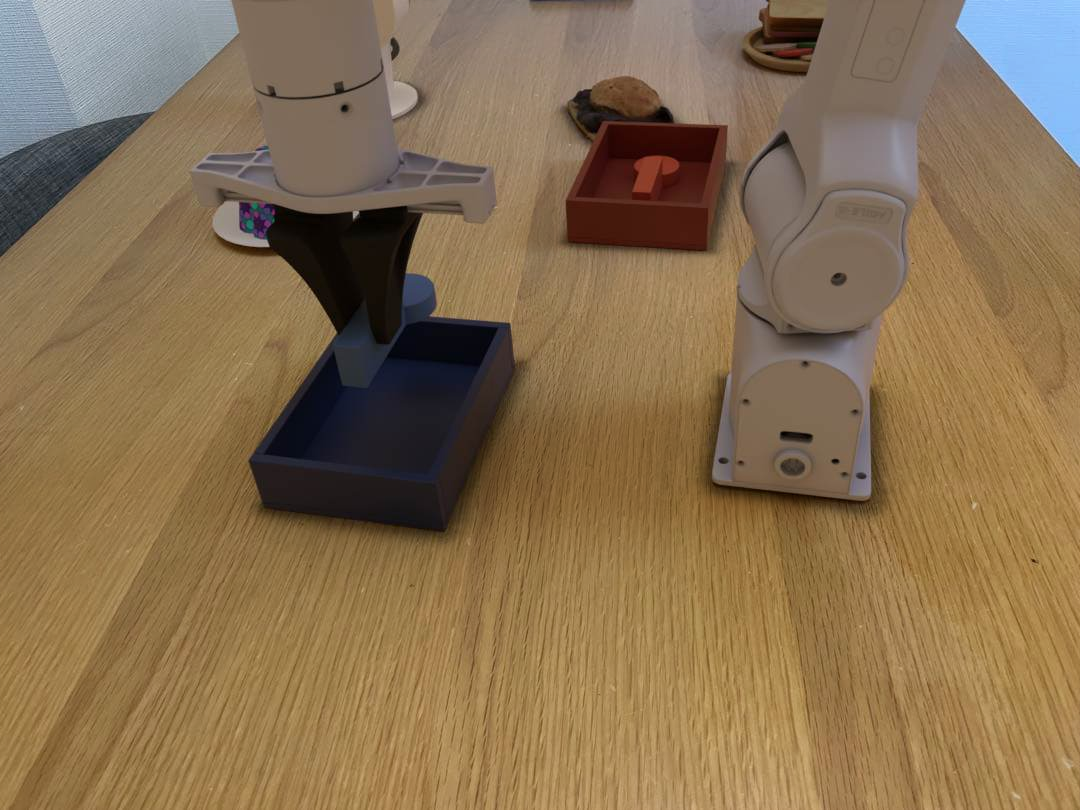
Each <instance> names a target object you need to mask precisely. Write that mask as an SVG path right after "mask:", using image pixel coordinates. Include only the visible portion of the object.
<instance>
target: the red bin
mask: <svg viewBox="0 0 1080 810" xmlns="http://www.w3.org/2000/svg"><path fill="white" fill-rule="evenodd" d="M728 129H729V125H727V124H702V123H701V124H700V123H676V122H674V123H646V122H616V121H603V122H602V124H601V126H600V129H599V131H598V133H597V135H596V137H595V139H594V141H592V143H591V145H590V147H589V150H588V152H587V153H586V156H585V158H584V160H583V163H582V165H581V167H580V169H579V171H578V173H577V175H576V177H575V180H574V181H573V183H572V185H571V188H570V190H569V192H568V194H567V196H566V198H565V217H566V218H565V219H566V234H567V235H566V236H567V242H568V243H582V244H583V243H585V244H597V245H599V244H600V245H615V246H629V247H630V246H631V247H646V248H647V247H648V248H660V249H661V248H664V249H677V250H678V249H681V250H693V251H694V250H696V251H708V245H709V241H710V238H711V237H710V236H711V233H712V228H713V223H714V219H715V215H716V209H717V206H718V200H719V196H720V192H721V187H722V182H723V179H724V174H725V169H726V166H727V147H728V132H729V131H728ZM648 156H667V157H671V158H674V159H675V160H677V161H678V162H679V165H680V168H679V181H678V182H677V183H676V184H675V185H673V186H670V187H667V188H662V190H661V194H660V197H659V200H658V201H643V200H632V190H633V188H634V185H635V181H634V164H635V163H636V162H637V161H638V160H639V159H642V158H644V157H648Z"/></svg>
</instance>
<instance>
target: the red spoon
mask: <svg viewBox="0 0 1080 810" xmlns="http://www.w3.org/2000/svg"><path fill="white" fill-rule="evenodd" d="M679 168H680V165H679V162H678V161H677V160H675V159H674V158H671V157H667V156H648V157H644V158H642V159H639V160H638V161H637V162H636V163H635V164H634V181H635V185H634V188H633V190H632V200H643V201H658V200H659V197H660V194H661V190H662V188H667V187H670V186H673V185H675V184H676V183H677V182H678V181H679Z"/></svg>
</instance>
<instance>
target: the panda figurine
mask: <svg viewBox="0 0 1080 810" xmlns="http://www.w3.org/2000/svg"><path fill="white" fill-rule="evenodd" d="M373 4H374V10H375V16H376V23H377V29H378V35H379V41H380V47H381V53H382V59H383V65H384V71H385V77H386V84H387V90H388V96H389V102H390V108H391V114H392V120H395V119H397V118H399V117H402V116H404V115H405V114H407V113H408V112H410V111H411V110H412V109H414V108H415V107H416V105H417V104H418V101H419V97H418V92H417V90H416V89H415V88H414V87H413V86H411V85H409V84H408V83H405V82H402V81H398V80H394V73H393V62H394V60H395V59H396V58H397V57H398V56H399V54H400V52H401V51H400V49H401V47H400V44H399V42H398V40H397V38H395V36H396V35H397V34H398V33H399V32H400V31H401V29H402V27H403V26H404V25H405V22H406V20H407V19H408V14H409V12H410V6H411V0H373Z"/></svg>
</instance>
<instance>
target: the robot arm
mask: <svg viewBox="0 0 1080 810" xmlns="http://www.w3.org/2000/svg"><path fill="white" fill-rule="evenodd" d="M230 1H231V5H232V8H233V13H234V17H235V21H236V24H237V28H238V34H239V37H240V41H241V44H242V49H243V53H244V57H245V61H246V65H247V69H248V73H249V77H250V81H251V84H252V88H253V92H254V96H255V100H256V104H257V108H258V111H259V116H260V120H261V124H262V128H263V131H264V136H265V140H266V144H267V146H268V148H269V150H261V151H255V150H253V151H243V152H225V153H223V152H222V153H221V152H209V153H208V154H207V155H205V156H204V157H203V158H201V160H199V161H198V162H197V163H196V164H195V165H194V166H192V168H190V169H189V174H190V178H191V181H192V184H193V187H194V190H195V192H196V197H197V201H198V202H199V206H200V207H205V208H219V207H220V206H221V205H223V204H224V203H225V202H226V201H230V202H247V203H264V204H273V207H274V211H275V214H274V215H273V217H274V222H273V223H272V224H271V225H270V226H269V227H268V229H267V230H266V238H267V241H268V244H269V246H270V247H269V248H270V249H271V250H272V252H273V251H274V252H275V253H276V255H278V256H279V257H281V259H283V260H284V261H285V262H286V263H287V264H288V265H289V266H290V267H291V268H292V269H293V270H294V272H295V273H296V274H298V275H299V277H300V278H301V279H302V280H303V282H304V283H305V284H306V285H307V286H308V288H309V289H310V290H311V292H312V294H313V295H314V297H315V298H316V299H317V301H318V302H319V304H320V306H321V307H322V309H323V310H324V312H325V314H326V315H327V317H328V319H329V321H330V323H331V325H332V326H333V328H334V330H335V331H336V334H337V333H338V335H340V334H341V332H342V331H343V330H344V328H345V327H346V325H347V324H348V322H349V321H350V320H351V318H352V317H353V315H354V314H355V312H356V311H357V309H358V308H359V307H360V305H361V304H362V302H363V301H364V299H365V302H366V308H367V313H368V318H369V323H370V328H371V330H372V333H373V336H374V338H375V341H376V343H377V344H384V345H388V344H390V343H391V341H392V340H393V338H394V336H395V335H396V333H397V331H398V330H399V328H400V327H401V325H402V299H403V288H404V281H405V275H406V273H407V270H408V269H407V268H408V264H409V259H410V255H411V251H412V248H413V244H414V241H415V238H416V235H417V232H418V228H419V226H420V223H421V220H422V218H423V215H424V214H431V215H432V214H433V215H449V216H463V217H462V218H463V221H464V222H465V223H468V224H479V225H482V224H483V225H484V224H486V223H487V221H488V220H489V218H490V217H491V215H492V213H493V211H494V209H495V208H496V207H497V204H498V202H497V192H496V181H495V172H494V166H493V165H492V166H491V165H477V164H469V163H464V162H460V161H454V160H450V159H446V158H443V157H437V156H433V155H428V154H425V153H421V152H417V151H412V150H409V149H405V148H399V147H398V145H397V138H396V132H395V126H394V119H392V114H391V108H390V102H389V96H388V90H387V84H386V77H385V71H384V65H383V59H382V53H381V47H380V41H379V35H378V29H377V23H376V16H375V10H374V4H373V0H230ZM966 1H967V0H830V1H829V5H828V8H827V11H826V14H825V18H824V21H823V24H822V27H821V30H820V34H819V37H818V40H817V43H816V47H815V50H814V53H813V56H812V60H811V63H810V66H809V69H808V72H806V77H805V80H804V81H803V83H802V84H801V85H800V86H799V88H797V89H796V90H795V91H794V92H793V93H792V94H790V96H789V97H788V98H787V99H786V100H785V101H784V102H783V104H782V106H781V109H780V112H779V115H778V119H777V122H776V125H775V127H774V129H773V131H772V133H771V135H770V136H769V138H768V139H767V140H766V142H765V143H764V144H763V145H762V146H761V147H760V149H759V150H757V152H756V153H754V155H753V156H752V157H751V159H750V160H749V162H748V163H747V165H746V166H745V169H744V171H743V172H742V175H741V180H740V183H739V189H738V197H739V198H738V199H739V205H740V208H741V212H742V214H743V217H744V218H745V221H746V223H747V224H748V225H749V227H750V230H751V234H752V237H753V240H754V246H753V247H752V249H751V252H750V254H749V256H748V258H747V259H746V261H745V263H743V265H742V268H741V269H740V271H739V273H738V277H737V283H736V300H735V314H734V315H735V317H734V331H733V333H734V334H733V344H732V345H733V346H732V361H731V372H730V373H728V374H727V377H726V383H725V384H726V385H725V390H724V396H723V402H722V408H721V414H720V421H719V427H718V433H717V440H716V444H715V445H716V446H715V452H714V458H713V463H712V471H711V481H712V482H713V483H715V484H716V485H719V486H728V487H735V488H736V487H737V488H746V489H755V490H764V491H771V492H780V493H781V492H782V493H789V494H799V495H806V496H815V497H824V498H832V499H842V500H850V501H857V502H858V501H859V502H865V501H867V500H869V499H870V498H871V495H872V457H871V456H872V455H871V453H872V452H871V448H872V447H871V407H870V405H871V402H870V400H871V399H870V389H871V383H872V378H873V372H874V367H875V361H876V355H877V350H878V344H879V339H880V333H881V328H882V323H883V322H882V321H883V316H884V312H886V311H887V310H888V309H890V307H891V306H892V305H893V304H894V303H895V301H896V300H897V299H898V297H899V296H900V294H901V293H902V291H903V290H904V287H905V285H906V283H907V280H908V277H909V273H910V261H911V257H910V251H909V244H908V231H909V230H908V229H909V224H910V222H911V218H912V215H913V212H914V210H915V207H916V205H917V203H918V200H919V193H920V192H919V189H920V183H919V181H920V180H919V153H918V125H919V121H920V118H921V116H922V113H923V111H924V108H925V105H926V103H927V101H928V98H929V95H930V93H931V91H932V88H933V85H934V82H935V80H936V78H937V75H938V72H939V69H940V68H941V65H942V63H943V59H944V57H945V54H946V52H947V50H948V47H949V44H950V42H951V39H952V37H953V34H954V32H955V29H956V27H957V24H958V22H959V19H960V16H961V15H962V11H963V9H964V6H965V3H966ZM353 211H359V214H358V215H359V216H358V218H354V219H353Z"/></svg>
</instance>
